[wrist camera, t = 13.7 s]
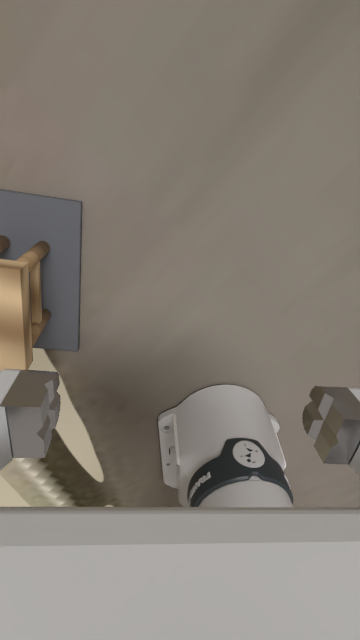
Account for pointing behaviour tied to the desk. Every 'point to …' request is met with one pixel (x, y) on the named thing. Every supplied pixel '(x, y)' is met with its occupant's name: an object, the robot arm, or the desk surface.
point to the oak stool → (20, 306)
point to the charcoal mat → (48, 258)
